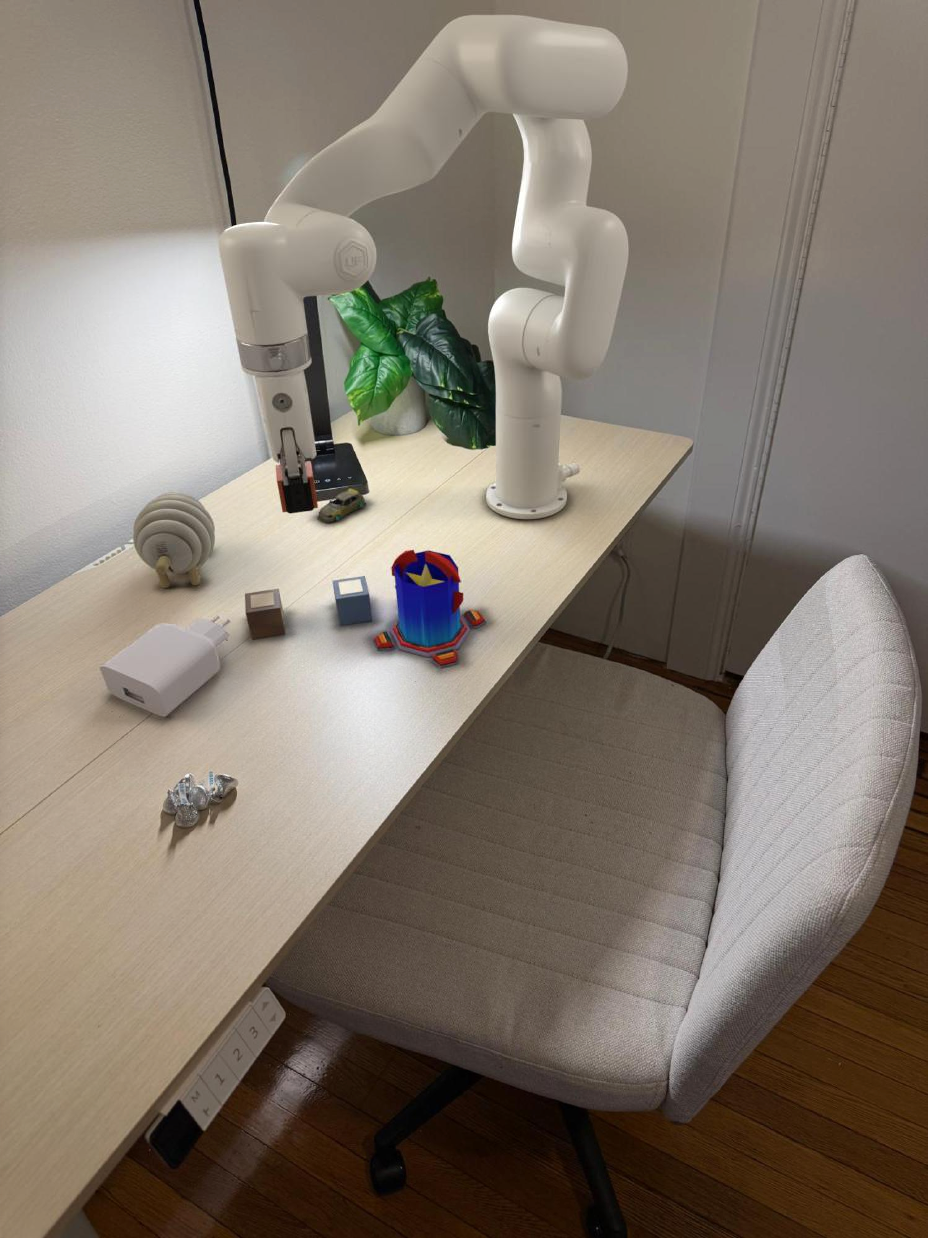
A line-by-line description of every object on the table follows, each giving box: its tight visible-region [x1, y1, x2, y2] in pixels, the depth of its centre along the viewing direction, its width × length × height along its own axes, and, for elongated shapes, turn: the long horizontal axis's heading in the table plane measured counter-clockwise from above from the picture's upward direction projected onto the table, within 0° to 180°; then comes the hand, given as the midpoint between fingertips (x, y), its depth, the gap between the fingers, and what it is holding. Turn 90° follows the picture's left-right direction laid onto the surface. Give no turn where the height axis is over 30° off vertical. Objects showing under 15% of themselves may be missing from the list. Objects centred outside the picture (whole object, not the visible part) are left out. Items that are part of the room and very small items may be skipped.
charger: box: [99, 614, 231, 718], centre depth 97 cm, size 5×9×15 cm
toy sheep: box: [132, 491, 216, 589], centre depth 111 cm, size 11×17×11 cm, turn 10°
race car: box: [316, 487, 367, 524], centre depth 126 cm, size 4×8×2 cm, turn 138°
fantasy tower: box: [372, 549, 488, 669], centre depth 99 cm, size 12×12×12 cm
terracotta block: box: [275, 460, 319, 513], centre depth 98 cm, size 4×4×4 cm
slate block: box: [332, 575, 373, 626], centre depth 105 cm, size 4×4×4 cm
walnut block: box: [244, 588, 287, 640], centre depth 103 cm, size 4×4×4 cm
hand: (299, 499), depth 99 cm, fingers closed on terracotta block, 4 cm apart
